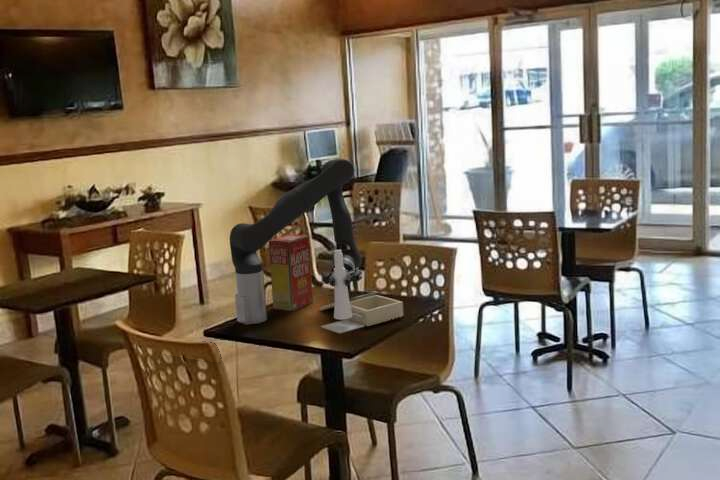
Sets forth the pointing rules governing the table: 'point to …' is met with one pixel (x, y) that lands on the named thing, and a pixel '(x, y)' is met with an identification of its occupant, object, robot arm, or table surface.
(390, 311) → the case
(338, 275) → the cosmetic bottle
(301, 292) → the food packaging
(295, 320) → the table surface
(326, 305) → the lid
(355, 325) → the mat
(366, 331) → the table surface
